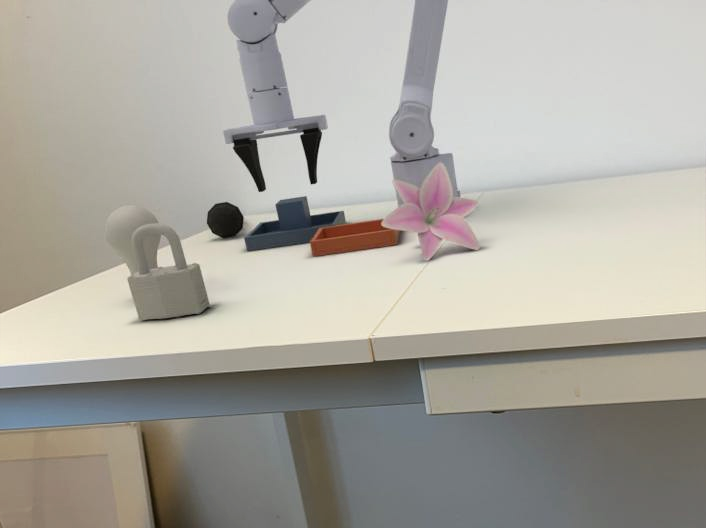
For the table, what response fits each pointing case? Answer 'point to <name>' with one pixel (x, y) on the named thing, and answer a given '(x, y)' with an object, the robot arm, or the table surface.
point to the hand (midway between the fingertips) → (288, 187)
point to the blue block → (293, 214)
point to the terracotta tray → (352, 237)
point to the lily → (433, 213)
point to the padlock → (165, 280)
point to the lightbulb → (121, 233)
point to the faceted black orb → (225, 220)
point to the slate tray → (289, 232)
